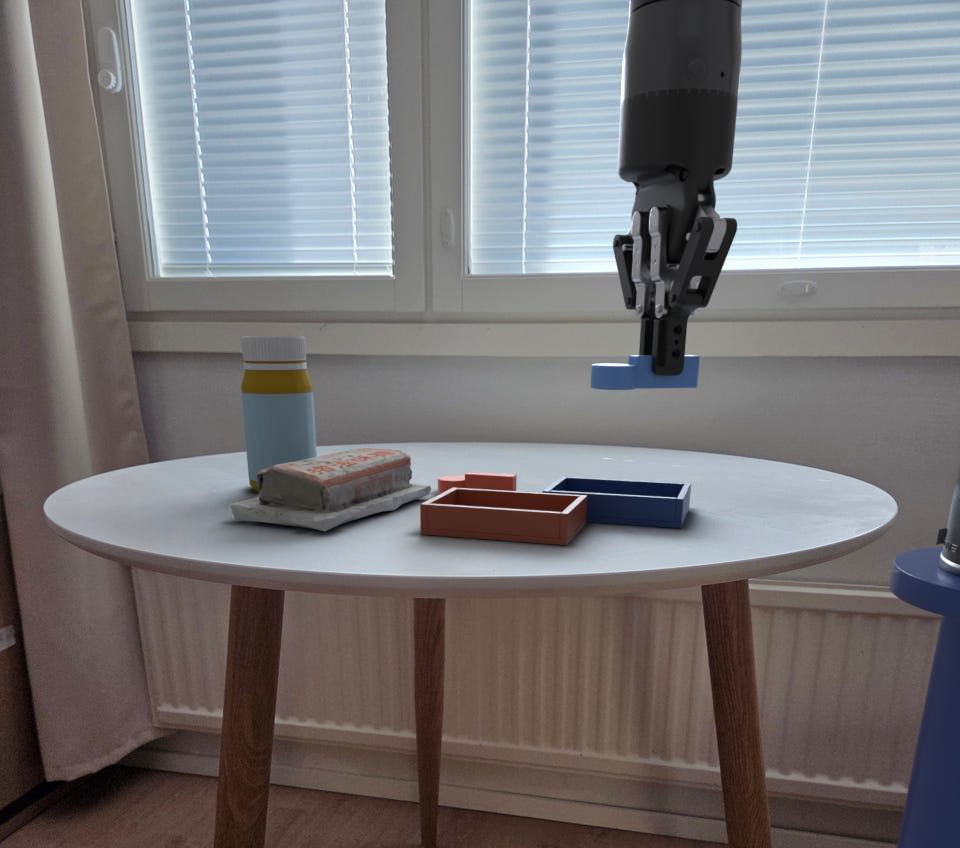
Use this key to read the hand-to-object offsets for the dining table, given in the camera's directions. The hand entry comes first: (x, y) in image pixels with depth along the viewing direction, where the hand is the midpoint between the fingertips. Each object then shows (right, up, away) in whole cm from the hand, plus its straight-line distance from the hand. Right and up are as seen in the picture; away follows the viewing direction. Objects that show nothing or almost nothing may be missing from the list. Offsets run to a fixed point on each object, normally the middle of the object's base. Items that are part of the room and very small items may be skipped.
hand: (660, 373), depth 63 cm
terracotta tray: (-11, -10, +11) cm, 18 cm away
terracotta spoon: (-13, -5, +25) cm, 29 cm away
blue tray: (0, -8, +16) cm, 18 cm away
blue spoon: (-1, -1, 0) cm, 2 cm away
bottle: (-33, -4, +28) cm, 44 cm away
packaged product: (-26, -7, +18) cm, 33 cm away
